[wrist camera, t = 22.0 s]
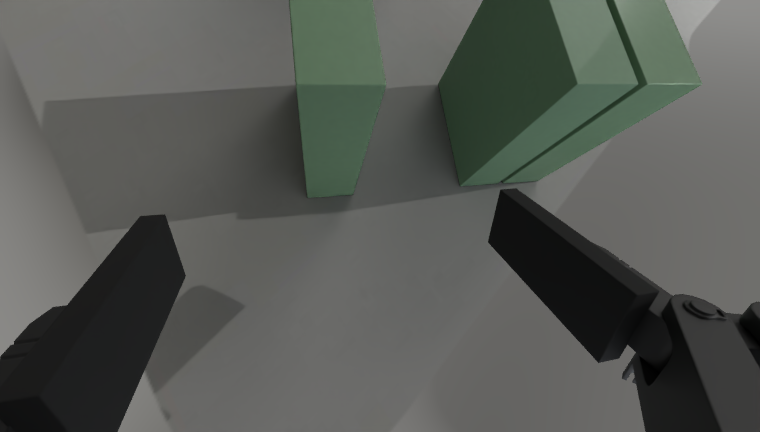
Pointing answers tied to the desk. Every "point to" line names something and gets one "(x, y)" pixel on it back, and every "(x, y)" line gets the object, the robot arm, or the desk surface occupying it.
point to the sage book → (335, 89)
